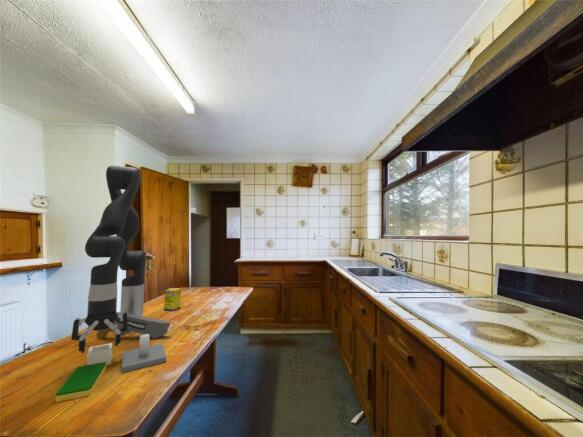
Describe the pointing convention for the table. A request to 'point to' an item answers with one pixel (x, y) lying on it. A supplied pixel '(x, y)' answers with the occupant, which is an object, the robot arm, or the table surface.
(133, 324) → the gun
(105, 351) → the ring
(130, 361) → the post stand
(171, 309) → the supplement box
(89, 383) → the dish sponge
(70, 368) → the table surface
